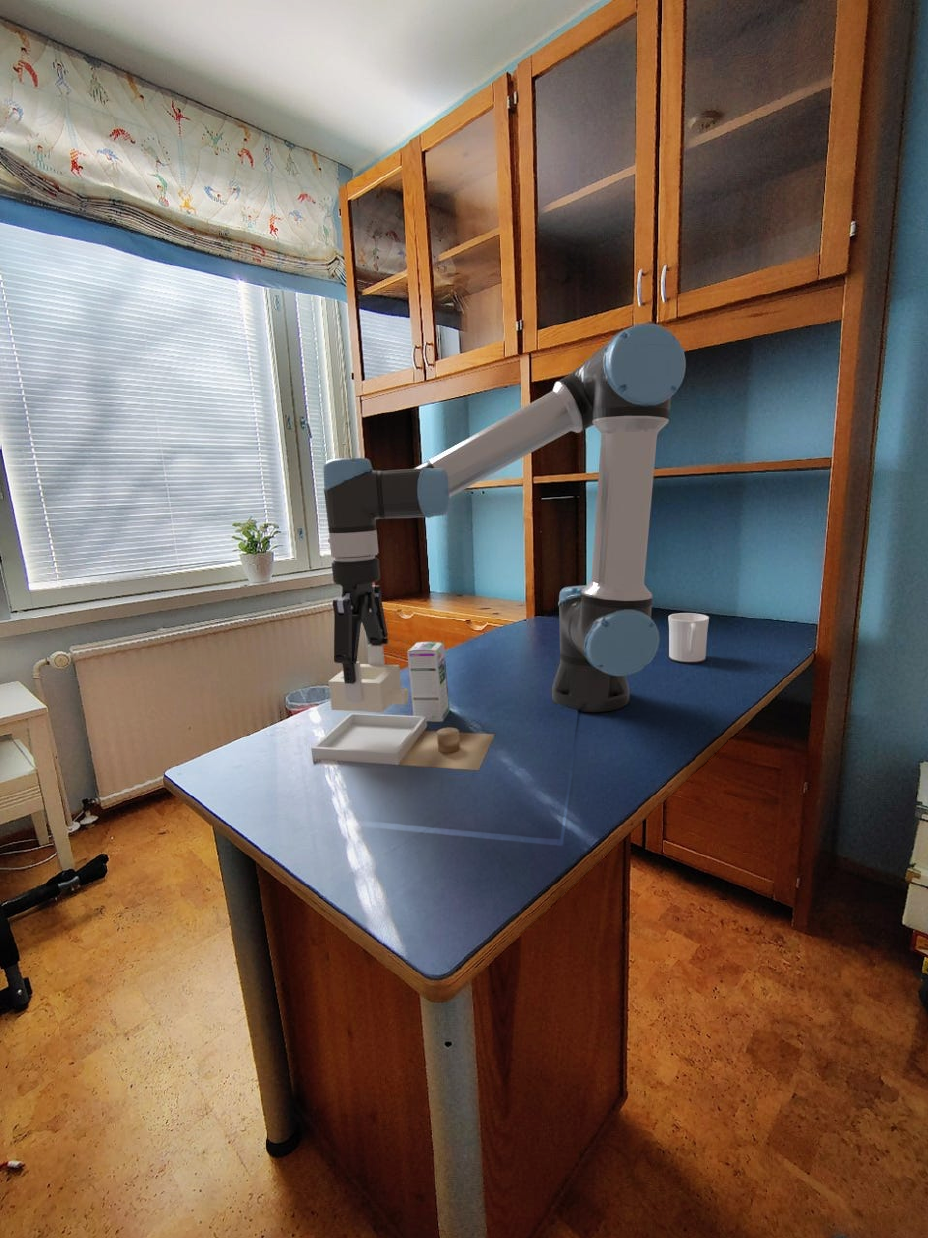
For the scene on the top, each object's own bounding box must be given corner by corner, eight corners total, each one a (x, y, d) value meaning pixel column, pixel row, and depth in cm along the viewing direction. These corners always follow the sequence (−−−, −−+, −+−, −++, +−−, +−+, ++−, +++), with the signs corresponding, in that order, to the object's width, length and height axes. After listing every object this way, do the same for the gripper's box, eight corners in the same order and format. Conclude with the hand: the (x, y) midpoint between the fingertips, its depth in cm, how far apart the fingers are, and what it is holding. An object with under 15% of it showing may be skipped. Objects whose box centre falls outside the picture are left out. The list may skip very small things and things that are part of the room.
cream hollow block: (354, 690, 103) (351, 663, 102) (415, 692, 100) (412, 665, 99) (331, 709, 94) (328, 681, 93) (397, 713, 92) (394, 683, 91)
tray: (427, 729, 105) (426, 716, 104) (398, 768, 90) (397, 753, 90) (351, 725, 108) (350, 713, 108) (312, 762, 94) (311, 748, 94)
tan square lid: (495, 737, 100) (494, 718, 99) (478, 773, 87) (477, 752, 86) (423, 733, 103) (422, 715, 102) (398, 768, 90) (396, 747, 90)
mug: (663, 654, 141) (664, 613, 139) (701, 653, 140) (703, 612, 138) (673, 667, 131) (674, 624, 129) (714, 667, 130) (716, 623, 127)
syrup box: (443, 724, 106) (438, 649, 103) (412, 723, 107) (406, 649, 104) (450, 713, 112) (445, 641, 109) (420, 712, 113) (415, 641, 110)
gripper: (361, 550, 103) (371, 669, 108) (299, 567, 83) (315, 713, 88) (400, 549, 102) (409, 671, 107) (347, 567, 81) (360, 716, 86)
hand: (366, 690), depth 97 cm, fingers closed on cream hollow block, 9 cm apart
